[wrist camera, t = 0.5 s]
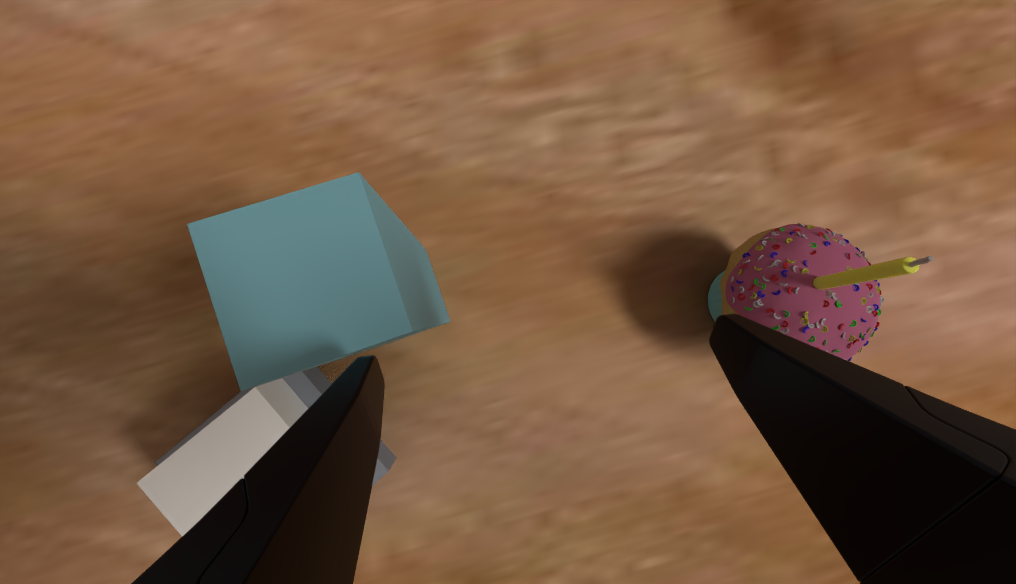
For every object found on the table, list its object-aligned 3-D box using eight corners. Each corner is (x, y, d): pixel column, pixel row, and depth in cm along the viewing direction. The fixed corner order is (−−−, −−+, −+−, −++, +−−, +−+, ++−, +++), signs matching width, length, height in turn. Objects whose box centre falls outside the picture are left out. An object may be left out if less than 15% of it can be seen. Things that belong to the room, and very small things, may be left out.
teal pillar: (450, 321, 23) (412, 331, 11) (375, 347, 23) (240, 391, 10) (425, 249, 24) (358, 172, 11) (351, 274, 23) (186, 223, 10)
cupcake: (660, 321, 25) (831, 329, 13) (716, 217, 25) (928, 131, 13) (765, 384, 25) (1030, 451, 13) (818, 279, 26) (1114, 250, 14)
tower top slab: (361, 470, 21) (344, 492, 18) (261, 557, 20) (229, 591, 18) (282, 378, 21) (254, 387, 18) (179, 461, 20) (136, 483, 17)
